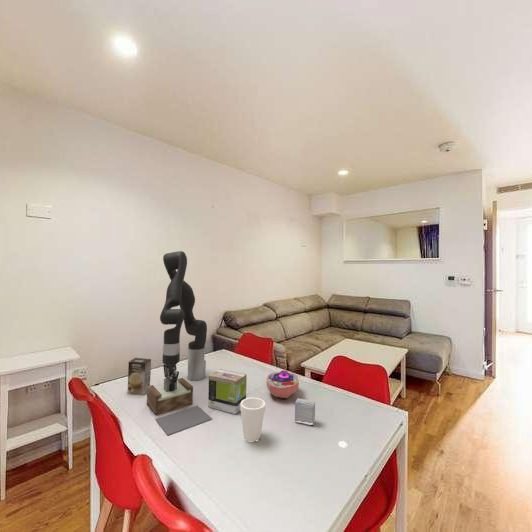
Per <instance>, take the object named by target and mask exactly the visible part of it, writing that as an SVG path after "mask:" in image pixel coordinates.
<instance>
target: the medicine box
mask: <svg viewBox="0 0 532 532" xmlns="http://www.w3.org/2000/svg"><path fill="white" fill-rule="evenodd" d="M314 420H315V421H316V401H315V400H310V399H304V398H296V401H295V402H294V422H295V421H301V422H308V423H314V424H315V422H314Z"/></svg>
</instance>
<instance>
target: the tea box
mask: <svg viewBox="0 0 532 532" xmlns="http://www.w3.org/2000/svg"><path fill="white" fill-rule="evenodd" d="M207 394H208V397H207V403H208V405H207V407H208V408H212V409H215V410H218V411H222V412H226V413H229V414H233V415H237V414H238V413H239V412H241V410H240V403H241V401H242V400H244V399H246V398H247V373H242V372H238V371H231V370H226V369H218V370H216V371H215V372H213V373H211V374H209V375H208V392H207ZM238 411H239V412H238Z"/></svg>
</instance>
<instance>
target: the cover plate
mask: <svg viewBox="0 0 532 532" xmlns="http://www.w3.org/2000/svg"><path fill="white" fill-rule="evenodd" d="M154 387H155V388H156V389H157V390H158V391H159V392H160V393H161V394H162V397H159V398H158V401H161V400H164V399H168V398H172V397H175V396H179V395H182V394H186V393H190V392H191V390H190V389H187V388H185V387H184V386H183V385H182V384H181V383H179V382H178V381H177V382H175V388H174V391H169V378H166V377H164V379H163V385H159V386H154Z"/></svg>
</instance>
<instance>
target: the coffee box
mask: <svg viewBox="0 0 532 532" xmlns="http://www.w3.org/2000/svg"><path fill="white" fill-rule="evenodd" d="M151 370H152V359H151V358H144V357H143V358H142V357H141V358H140V357H133V359H131V360H130V361H128V370H127V373H128V374H127V394H131V395H139V396H140V395H141V396H145V395H147V386H151V372H152V371H151Z"/></svg>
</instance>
